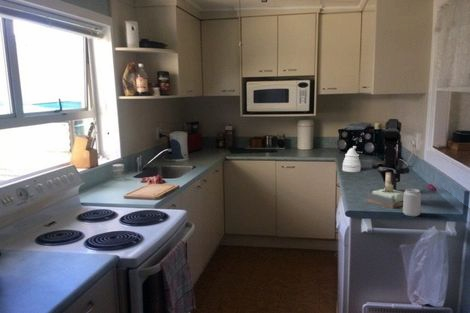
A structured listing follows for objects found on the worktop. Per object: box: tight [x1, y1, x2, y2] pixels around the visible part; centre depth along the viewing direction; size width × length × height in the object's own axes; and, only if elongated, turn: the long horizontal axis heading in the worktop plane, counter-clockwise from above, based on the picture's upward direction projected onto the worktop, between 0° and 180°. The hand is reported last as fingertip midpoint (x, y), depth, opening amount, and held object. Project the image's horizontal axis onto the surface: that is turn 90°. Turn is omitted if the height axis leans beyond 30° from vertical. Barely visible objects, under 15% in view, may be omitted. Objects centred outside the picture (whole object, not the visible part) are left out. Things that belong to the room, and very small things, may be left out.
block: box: [371, 187, 405, 202], centre depth 198 cm, size 12×12×4 cm
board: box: [365, 192, 403, 209], centre depth 199 cm, size 20×16×4 cm
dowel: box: [384, 172, 393, 193], centre depth 197 cm, size 4×4×10 cm
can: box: [402, 188, 422, 218], centre depth 177 cm, size 8×8×12 cm
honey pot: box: [341, 145, 362, 173], centre depth 279 cm, size 13×13×18 cm
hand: (389, 184), depth 197 cm, fingers closed on dowel, 4 cm apart
